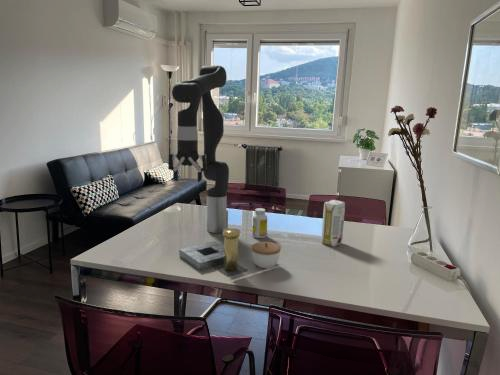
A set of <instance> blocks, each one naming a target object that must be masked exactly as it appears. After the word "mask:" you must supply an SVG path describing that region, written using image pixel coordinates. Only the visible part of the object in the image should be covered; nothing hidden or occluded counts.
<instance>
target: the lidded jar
mask: <svg viewBox="0 0 500 375" xmlns="http://www.w3.org/2000/svg"><path fill="white" fill-rule="evenodd" d="M281 249H282V248H281V246H280V245H279V244H278V243H276V242H271V241H260V242H259V241H258V242H255V243H253V244H252V245H251V257H252V260H253V263H254V264H255V265H256V266H257V267H258V268H261V269H267V270H272V269H274V267H275V266H276V265H277V264H278V262H279V260H280V257H281V256H280V255H281Z"/></svg>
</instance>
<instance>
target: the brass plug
mask: <svg viewBox="0 0 500 375" xmlns="http://www.w3.org/2000/svg"><path fill="white" fill-rule="evenodd" d="M240 233H241V231H240V229H237V228H233V227H232V228H229V227H228V229H224V230H223V232H222V236H223V238H224V241H223V246H224V270H225V271H228V272H234V271H236V270H237V269H238V265H239V263H238V262H239V260H238V259H239V258H238V257H239V237H240V235H241V234H240Z"/></svg>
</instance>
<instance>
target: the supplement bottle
mask: <svg viewBox="0 0 500 375" xmlns="http://www.w3.org/2000/svg"><path fill="white" fill-rule="evenodd" d="M267 236H268V215H267V214H266V209H265V208H261V207H260V208H259V207H258V208H255V209H254V214H253V216H252V237H253V238H256V239H265V238H266V237H267Z"/></svg>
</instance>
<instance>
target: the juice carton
mask: <svg viewBox="0 0 500 375" xmlns="http://www.w3.org/2000/svg"><path fill="white" fill-rule="evenodd" d="M322 211H323V213H322V214H323V215H322V227H321V229H322V230H321V244H323V245H326V246H330V247H337V246H338V245H341V244H342V241H343V238H344V237H343V233H344V224H345V212H346V203H345V201H341V200H337V199H331V200H329V201H325V202H324V204H323V210H322Z"/></svg>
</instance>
